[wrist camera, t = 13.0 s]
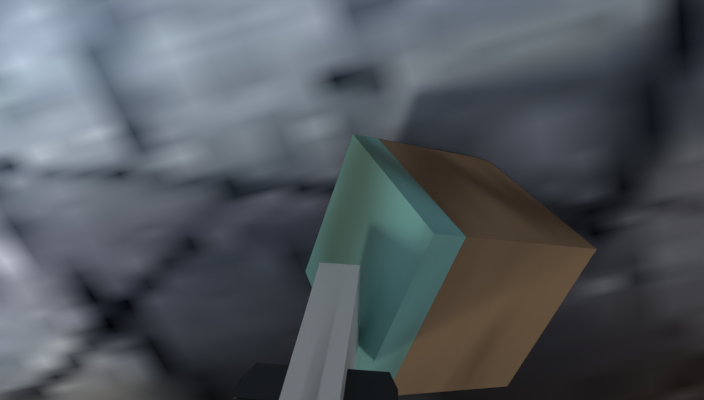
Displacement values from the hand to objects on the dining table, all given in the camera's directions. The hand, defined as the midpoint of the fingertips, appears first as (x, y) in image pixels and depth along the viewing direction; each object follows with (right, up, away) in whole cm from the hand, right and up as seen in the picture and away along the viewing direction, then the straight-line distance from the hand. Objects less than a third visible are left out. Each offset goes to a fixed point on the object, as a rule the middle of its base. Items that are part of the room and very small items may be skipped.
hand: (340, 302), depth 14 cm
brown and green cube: (0, +1, +1) cm, 2 cm away
